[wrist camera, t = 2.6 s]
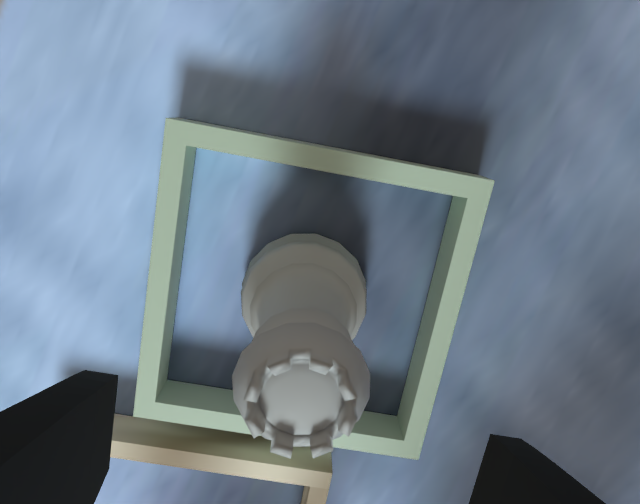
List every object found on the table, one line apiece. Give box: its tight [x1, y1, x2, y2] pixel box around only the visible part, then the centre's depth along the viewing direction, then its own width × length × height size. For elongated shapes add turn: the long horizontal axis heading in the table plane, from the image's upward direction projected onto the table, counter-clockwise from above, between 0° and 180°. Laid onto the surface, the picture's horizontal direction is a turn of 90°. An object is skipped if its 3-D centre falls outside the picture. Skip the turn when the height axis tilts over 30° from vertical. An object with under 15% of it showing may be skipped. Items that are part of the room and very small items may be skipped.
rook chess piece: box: [232, 234, 370, 459], centre depth 15 cm, size 4×4×8 cm
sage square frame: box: [133, 118, 494, 460], centre depth 18 cm, size 10×10×2 cm
